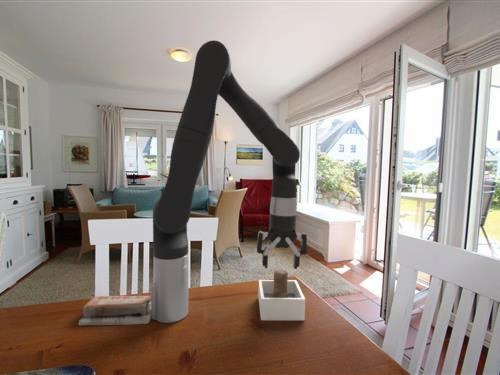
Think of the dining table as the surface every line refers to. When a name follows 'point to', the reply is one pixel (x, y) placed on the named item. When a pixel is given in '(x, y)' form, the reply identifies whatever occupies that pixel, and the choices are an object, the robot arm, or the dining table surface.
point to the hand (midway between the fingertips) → (280, 267)
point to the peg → (280, 284)
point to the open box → (281, 302)
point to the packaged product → (117, 310)
